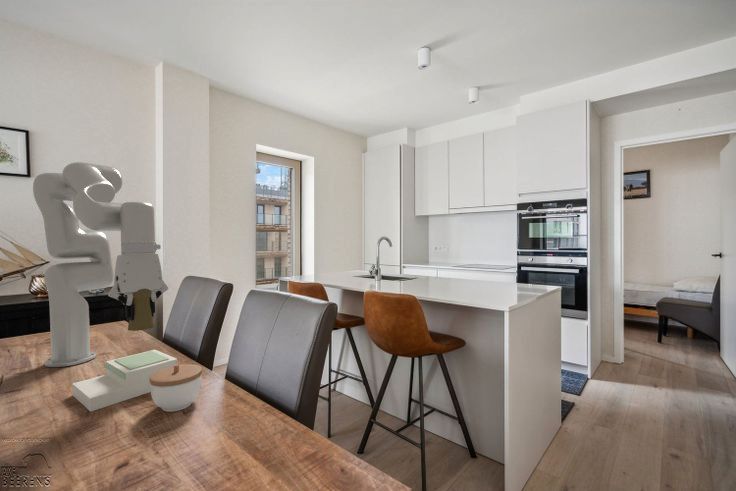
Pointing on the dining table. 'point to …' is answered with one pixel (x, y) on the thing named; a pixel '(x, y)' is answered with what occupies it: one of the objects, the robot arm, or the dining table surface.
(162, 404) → the lidded jar
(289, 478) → the dining table surface
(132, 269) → the robot arm
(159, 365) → the platform
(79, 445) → the dining table surface
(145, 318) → the cork
